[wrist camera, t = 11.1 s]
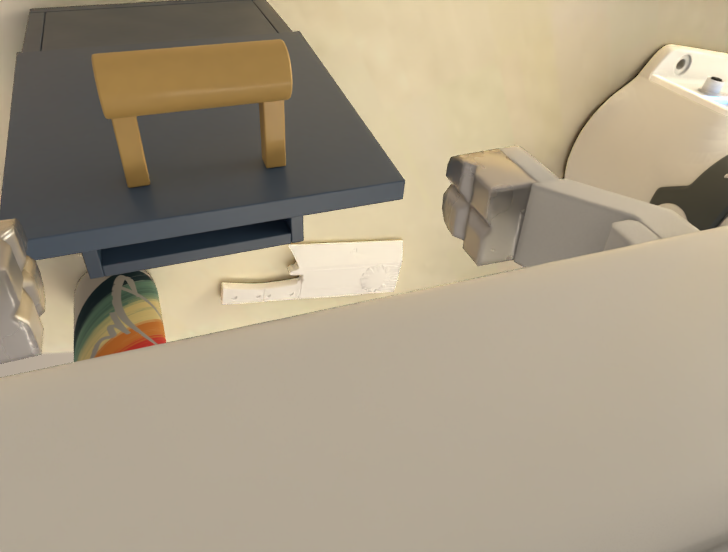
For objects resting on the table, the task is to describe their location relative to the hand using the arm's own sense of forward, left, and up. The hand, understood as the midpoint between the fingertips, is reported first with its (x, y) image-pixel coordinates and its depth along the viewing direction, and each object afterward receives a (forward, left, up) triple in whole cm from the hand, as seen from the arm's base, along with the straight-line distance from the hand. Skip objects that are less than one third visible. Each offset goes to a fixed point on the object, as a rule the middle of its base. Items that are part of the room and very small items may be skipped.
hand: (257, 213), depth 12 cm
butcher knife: (-9, +24, -28) cm, 38 cm away
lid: (0, +4, -13) cm, 14 cm away
